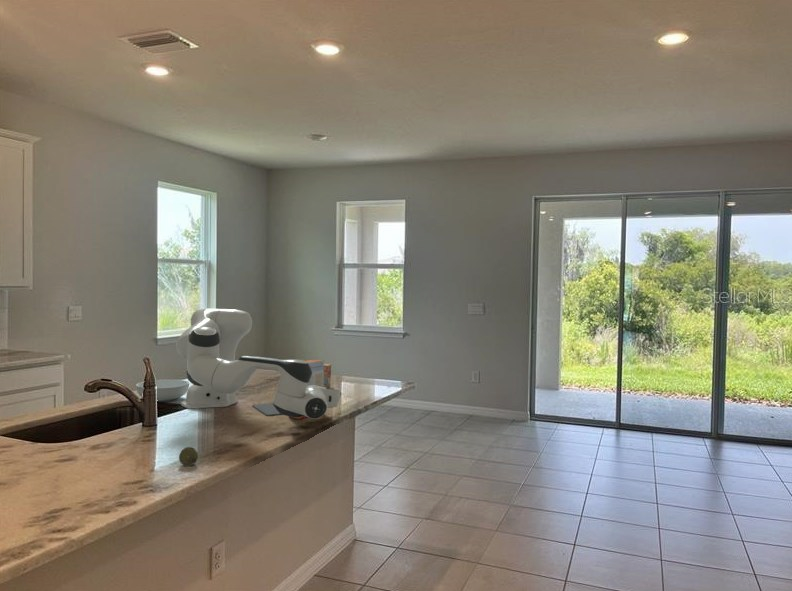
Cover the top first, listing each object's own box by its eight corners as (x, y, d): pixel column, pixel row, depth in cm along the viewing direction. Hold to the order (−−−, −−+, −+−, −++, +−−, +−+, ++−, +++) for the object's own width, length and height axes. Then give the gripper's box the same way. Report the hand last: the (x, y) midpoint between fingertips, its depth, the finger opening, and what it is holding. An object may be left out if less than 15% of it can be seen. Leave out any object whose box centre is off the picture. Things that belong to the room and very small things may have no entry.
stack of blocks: (283, 388, 278) (283, 362, 277) (287, 386, 284) (287, 361, 283) (327, 391, 275) (328, 365, 275) (330, 388, 281) (331, 363, 281)
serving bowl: (188, 393, 261) (188, 378, 261) (189, 403, 241) (190, 387, 241) (136, 395, 253) (137, 379, 253) (134, 406, 234) (134, 389, 234)
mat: (266, 416, 224) (266, 414, 224) (252, 406, 240) (252, 405, 240) (315, 411, 235) (315, 409, 235) (298, 402, 250) (298, 400, 250)
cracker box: (313, 411, 234) (313, 358, 234) (324, 413, 231) (324, 360, 230) (287, 417, 223) (287, 362, 223) (298, 419, 220) (299, 363, 219)
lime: (200, 464, 166) (200, 447, 166) (184, 468, 163) (184, 450, 163) (192, 461, 169) (192, 443, 169) (176, 464, 166) (176, 447, 166)
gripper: (282, 407, 205) (282, 399, 219) (341, 406, 209) (337, 398, 222) (283, 389, 205) (283, 382, 218) (342, 389, 209) (338, 381, 222)
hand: (311, 390), depth 220 cm, fingers open, 8 cm apart
